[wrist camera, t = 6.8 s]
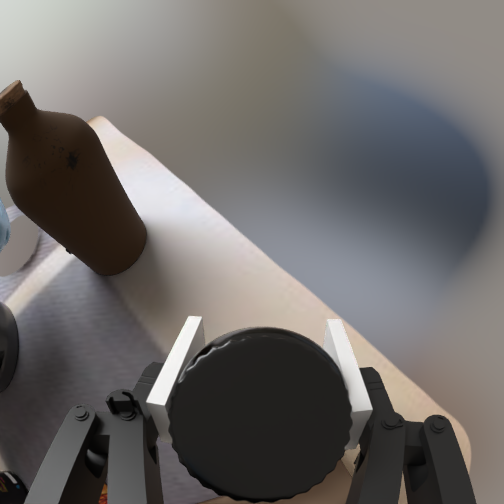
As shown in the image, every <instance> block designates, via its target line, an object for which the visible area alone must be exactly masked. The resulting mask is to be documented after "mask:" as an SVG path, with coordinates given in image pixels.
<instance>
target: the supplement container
mask: <svg viewBox="0 0 504 504" xmlns="http://www.w3.org/2000/svg"><path fill="white" fill-rule="evenodd" d="M27 495H28V492H27V490H26V488H25V486H24V485H23V483H22V482H21V480H20V479H19V478H18V477H17V476H16V475H15V474H13V473H12V472H10V471H0V504H24V502H25V500H26V497H27Z"/></svg>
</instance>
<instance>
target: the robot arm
mask: <svg viewBox="0 0 504 504" xmlns="http://www.w3.org/2000/svg"><path fill="white" fill-rule="evenodd" d="M9 237H10V222H9V218H8V215H7V212H6V210H5V208H4V205H3V203H2V201H1V199H0V252H1V251H2V250H3V248H4V247H5V245H6V244H7V243H8V241H9ZM204 346H205V338H204V329H203V320H202V317H197V316H188V318H187V320H186V322H185V324H184V326H183V328H182V330H181V332H180V334H179V336H178V338H177V340H176V342H175V344H174V346H173V348H172V350H171V352H170V354H169V356H168V358H167V360H166V362H165V364H164V363H157V362H153V363H151V364H150V365H149V366H148V367H146V368H145V370H144V372H143V374H142V377H140V379H139V381H138V383H137V384H136V386H135V388H134V390H133V392H132V391H130V390H125V389H121V390H116V391H114V392H112V393H111V394H110V395H109V396H107V399H106V403H107V405H108V407H109V409H110V411H111V412H95V410H94V409H93V408H92V406H90V405H88V404H78V405H76V406H74V407H72V408H71V409H70V411H69V412H68V414H67V416H66V417H65V419H64V421H63V423H62V425H61V427H60V429H59V430H58V432H57V434H56V436H55V438H54V440H53V442H52V444H51V446H50V448H49V450H48V452H47V454H46V456H45V458H44V460H43V462H42V464H41V466H40V468H39V471H38V473H37V475H36V477H35V479H34V481H33V484H32V486H31V488H30V490H29V493H28V495H27V497H26V500H25V502H24V504H98V503H99V499H100V496H101V493H102V490H103V486H104V483H105V480H106V477H107V474H108V487H107V504H164V501H163V493H162V485H161V476H160V467H159V456H158V447H157V444H156V441H157V438H158V435H159V437H160V439H161V442H166V443H171V444H172V438H171V436H170V434H169V432H168V428H169V425H170V421H169V419H168V412H169V410H170V408H171V400H170V398H171V397H172V396H173V394H174V393H175V389H176V385H177V382H178V380H179V378H180V376H181V374H182V372H183V370H184V368H185V367H186V365H187V364H188V363H189V361H190V360H191V359H192V358H193V357H194V355H195V354H196V353H197V352H198V351H200V350H201V349H202V348H203V347H204ZM323 349H324V350H325V351H326V352H327V353H328V354H329V355H330V356H331V357H332V358H333V359H334V361H335V362H336V363H337V365H338V366H339V368H340V370H341V371H342V373H343V376H344V378H345V380H346V383H347V386H348V390H349V402H350V403H351V405H352V411H351V414H350V416H351V418H352V421H353V425H352V427H351V429H350V431H349V432H350V441H349V442H348V444H347V445H346V446H345V450H349V449H356V447H357V445H358V442H359V445H360V449H361V450H360V452H359V454H358V456H357V458H356V460H355V462H354V464H356V466H355V470H354V474H353V478H352V482H351V486H350V489H349V493H348V497H347V500H346V503H345V504H398V500H399V493H400V487H401V479H402V470H403V475H404V481H405V487H406V494H407V501H408V504H476V500H475V496H474V493H473V489H472V485H471V482H470V478H469V475H468V471H467V468H466V465H465V462H464V459H463V456H462V453H461V450H460V447H459V444H458V441H457V438H456V436H455V433H454V430H453V428H452V425H451V423H450V421H449V420H448V419H447V418H446V417H444V416H441V415H432V416H429V417H428V418H427V419H426V420H425V421H424V422H410V421H406V420H404V418H403V417H402V416H401V415H400V414H398V413H396V412H395V411H394V409H393V407H392V404H391V402H390V399H389V397H388V394H387V392H386V389H385V387H384V384H383V383H382V379H381V377H380V375H379V373H378V372H377V371H376V370H375V369H374V368H373V367H366V368H359V367H358V364H357V362H356V359H355V356H354V353H353V351H352V348H351V345H350V343H349V340H348V337H347V334H346V332H345V329H344V327H343V324H342V321H341V319H327V323H326V330H325V337H324V344H323ZM17 353H18V335H17V327H16V323H15V319H14V316H13V314H12V312H11V310H10V309H9V308H8V307H7V306H6V305H5V304H3V303H2V302H0V392H1V391H3V390H4V389H5V388H6V387H7V386H8V384H9V382H10V381H11V378H12V376H13V373H14V370H15V366H16V361H17Z"/></svg>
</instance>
